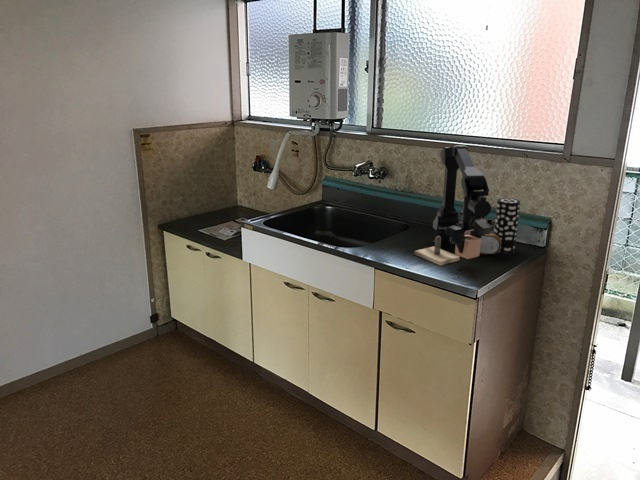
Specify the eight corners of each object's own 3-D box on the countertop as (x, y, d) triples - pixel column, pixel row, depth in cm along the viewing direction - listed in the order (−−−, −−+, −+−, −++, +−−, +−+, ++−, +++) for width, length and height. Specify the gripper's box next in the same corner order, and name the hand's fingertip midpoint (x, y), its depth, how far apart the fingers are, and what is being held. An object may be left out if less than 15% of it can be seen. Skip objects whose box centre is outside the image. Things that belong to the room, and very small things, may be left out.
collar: (466, 251, 192) (468, 234, 190) (479, 256, 187) (481, 238, 185) (454, 254, 189) (456, 237, 187) (467, 259, 184) (468, 241, 182)
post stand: (433, 249, 207) (435, 229, 204) (459, 260, 196) (461, 238, 193) (414, 254, 202) (415, 233, 199) (439, 265, 191) (441, 243, 188)
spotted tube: (508, 254, 201) (514, 204, 195) (488, 250, 207) (493, 200, 200) (518, 249, 207) (524, 200, 201) (498, 245, 212) (503, 197, 206)
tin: (500, 254, 202) (502, 233, 200) (499, 256, 200) (502, 235, 197) (460, 249, 207) (462, 229, 205) (459, 252, 205) (461, 231, 202)
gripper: (469, 218, 171) (465, 263, 176) (507, 211, 180) (503, 253, 185) (445, 211, 180) (441, 253, 185) (483, 204, 189) (479, 244, 194)
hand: (467, 251), depth 187 cm, fingers closed on collar, 6 cm apart
